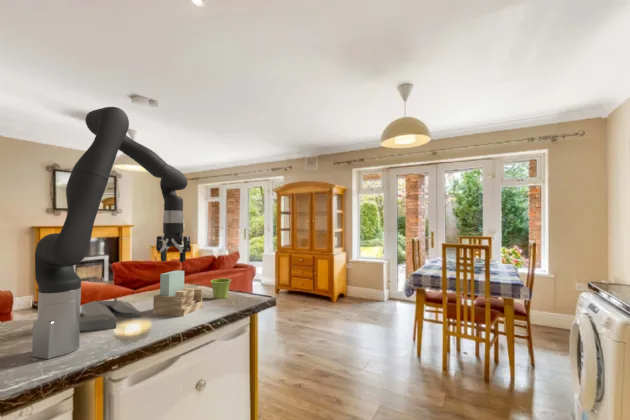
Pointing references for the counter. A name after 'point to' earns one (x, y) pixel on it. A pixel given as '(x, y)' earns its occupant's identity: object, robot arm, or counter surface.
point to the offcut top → (184, 293)
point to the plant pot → (220, 288)
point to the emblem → (104, 314)
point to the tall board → (171, 283)
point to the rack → (175, 305)
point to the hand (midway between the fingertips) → (173, 261)
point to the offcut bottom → (189, 304)
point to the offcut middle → (188, 300)
